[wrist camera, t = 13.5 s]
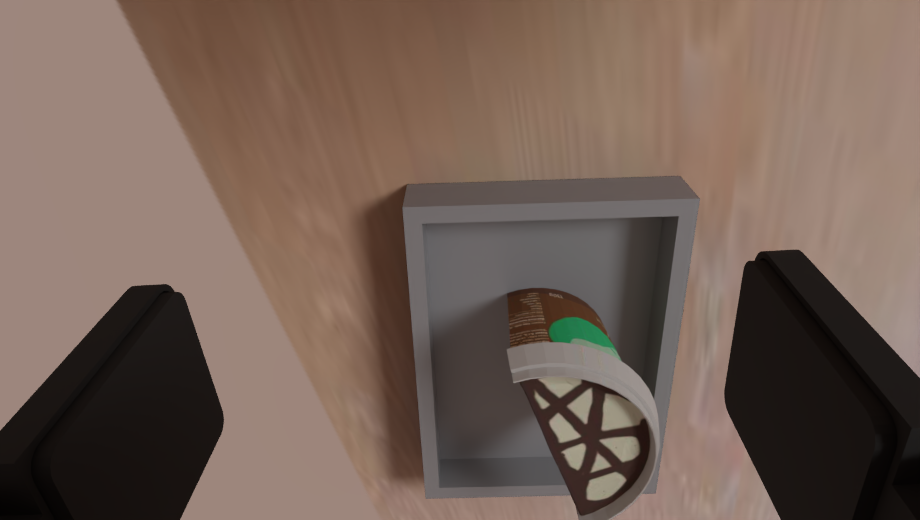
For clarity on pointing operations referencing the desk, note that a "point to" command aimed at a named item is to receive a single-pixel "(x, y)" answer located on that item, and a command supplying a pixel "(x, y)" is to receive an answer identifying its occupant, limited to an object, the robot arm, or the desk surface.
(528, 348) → the food container
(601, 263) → the parts tray
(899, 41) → the desk surface
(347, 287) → the desk surface
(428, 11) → the desk surface
